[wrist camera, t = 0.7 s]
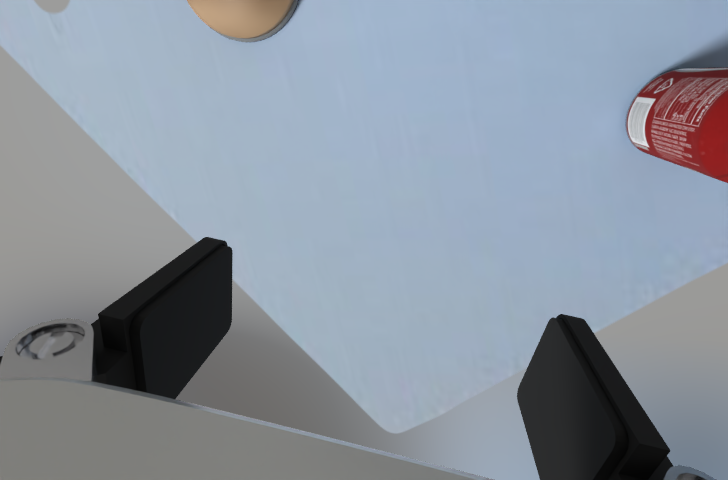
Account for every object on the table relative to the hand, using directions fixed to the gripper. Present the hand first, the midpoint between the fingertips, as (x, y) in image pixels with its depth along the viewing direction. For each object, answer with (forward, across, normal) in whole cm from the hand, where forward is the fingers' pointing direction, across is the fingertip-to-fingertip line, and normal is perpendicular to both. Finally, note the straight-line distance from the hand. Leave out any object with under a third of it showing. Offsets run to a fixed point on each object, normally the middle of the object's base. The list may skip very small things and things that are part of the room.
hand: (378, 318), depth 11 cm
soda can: (+27, -20, -7) cm, 35 cm away
